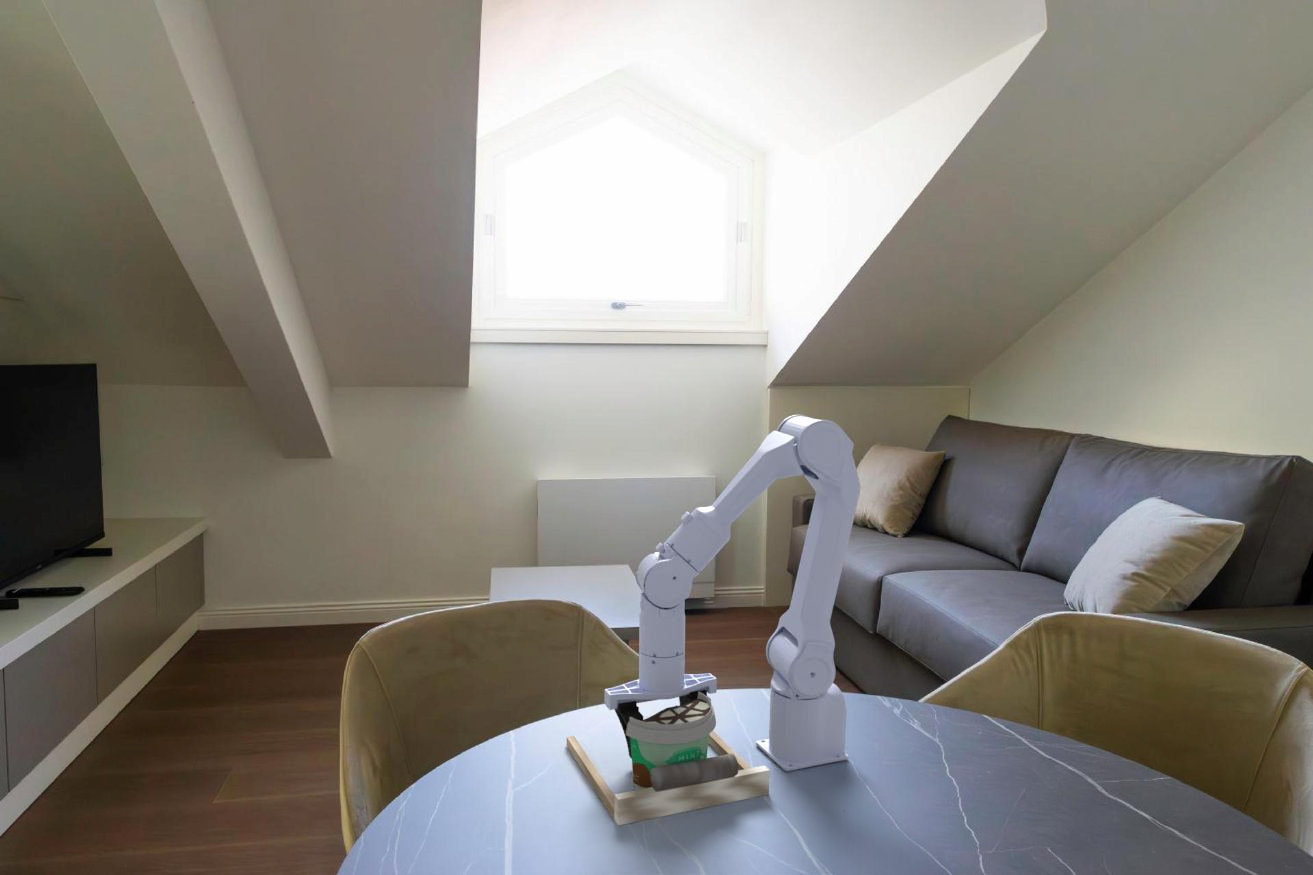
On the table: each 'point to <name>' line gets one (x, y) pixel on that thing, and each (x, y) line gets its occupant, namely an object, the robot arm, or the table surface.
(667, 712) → the food container
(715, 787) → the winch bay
